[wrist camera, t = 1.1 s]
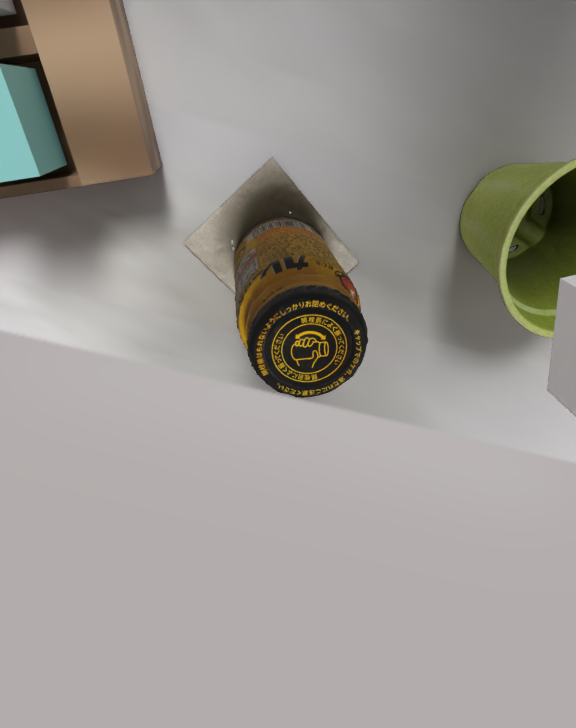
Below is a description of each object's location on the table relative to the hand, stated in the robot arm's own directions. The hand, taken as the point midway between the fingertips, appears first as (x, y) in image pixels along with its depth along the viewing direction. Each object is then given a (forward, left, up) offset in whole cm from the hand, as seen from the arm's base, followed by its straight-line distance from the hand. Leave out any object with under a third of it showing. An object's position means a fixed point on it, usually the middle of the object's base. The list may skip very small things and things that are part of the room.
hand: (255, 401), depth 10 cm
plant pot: (+3, +17, -22) cm, 28 cm away
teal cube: (-6, -10, -18) cm, 21 cm away
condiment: (+3, +2, -22) cm, 22 cm away
